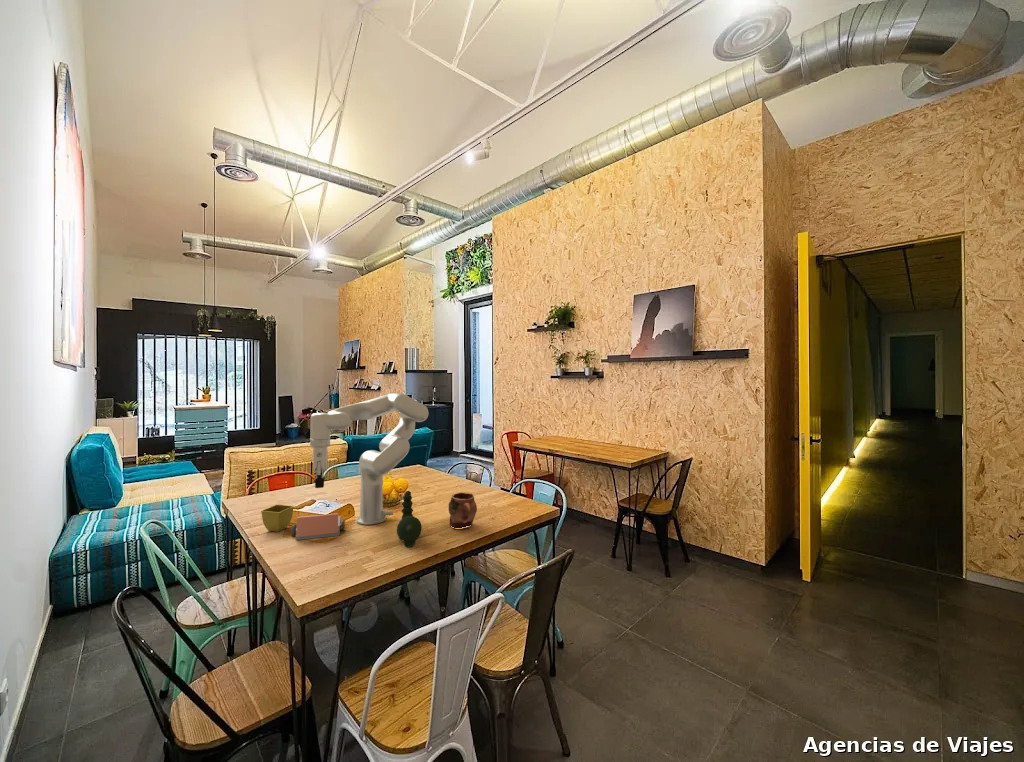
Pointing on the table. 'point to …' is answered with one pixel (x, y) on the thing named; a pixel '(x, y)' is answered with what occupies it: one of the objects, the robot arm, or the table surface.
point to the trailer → (294, 532)
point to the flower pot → (277, 517)
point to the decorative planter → (462, 510)
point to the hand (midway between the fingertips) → (319, 487)
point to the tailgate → (317, 525)
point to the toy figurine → (408, 523)
